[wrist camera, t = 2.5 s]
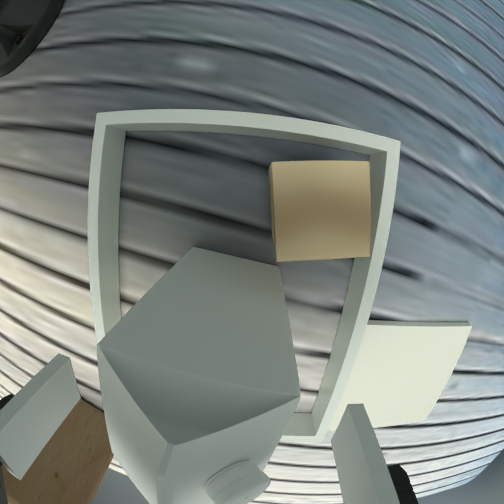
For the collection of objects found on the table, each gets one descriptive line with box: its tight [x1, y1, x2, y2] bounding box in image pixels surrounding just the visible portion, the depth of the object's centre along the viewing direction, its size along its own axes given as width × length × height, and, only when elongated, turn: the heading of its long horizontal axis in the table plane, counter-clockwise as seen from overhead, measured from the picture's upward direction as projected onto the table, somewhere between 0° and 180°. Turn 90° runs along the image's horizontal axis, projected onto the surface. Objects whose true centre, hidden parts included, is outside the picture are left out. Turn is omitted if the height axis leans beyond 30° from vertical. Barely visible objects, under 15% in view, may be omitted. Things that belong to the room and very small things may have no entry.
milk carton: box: [97, 247, 300, 504], centre depth 14 cm, size 7×7×19 cm
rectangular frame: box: [88, 109, 401, 442], centre depth 22 cm, size 28×22×4 cm
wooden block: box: [1, 399, 114, 504], centre depth 20 cm, size 10×10×20 cm
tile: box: [328, 320, 472, 430], centre depth 25 cm, size 14×14×1 cm
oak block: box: [268, 161, 371, 262], centre depth 18 cm, size 5×5×8 cm
